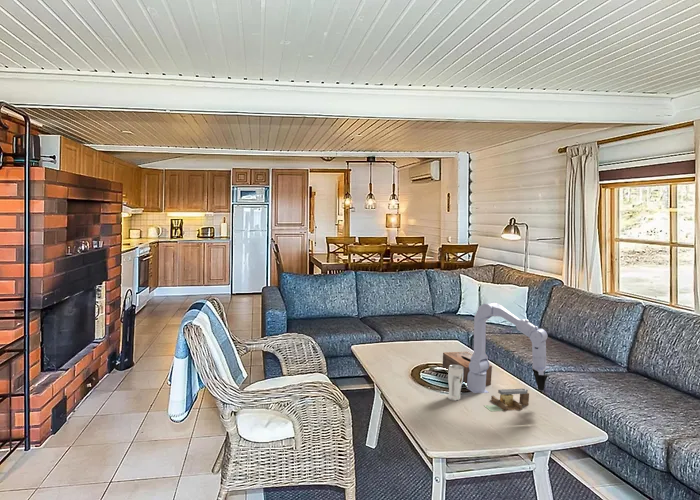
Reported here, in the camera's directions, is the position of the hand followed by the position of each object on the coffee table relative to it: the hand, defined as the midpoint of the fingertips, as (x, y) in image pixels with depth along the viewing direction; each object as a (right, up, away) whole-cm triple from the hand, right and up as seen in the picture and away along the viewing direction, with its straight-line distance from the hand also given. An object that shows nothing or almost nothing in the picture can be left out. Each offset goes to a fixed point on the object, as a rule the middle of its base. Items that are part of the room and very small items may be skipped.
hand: (540, 387), depth 213 cm
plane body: (-11, -9, +5) cm, 15 cm away
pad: (-21, -9, -1) cm, 23 cm away
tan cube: (-14, -9, +4) cm, 17 cm away
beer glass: (-36, -8, +10) cm, 38 cm away
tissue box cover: (-23, -7, +41) cm, 48 cm away
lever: (-10, -4, +4) cm, 12 cm away
